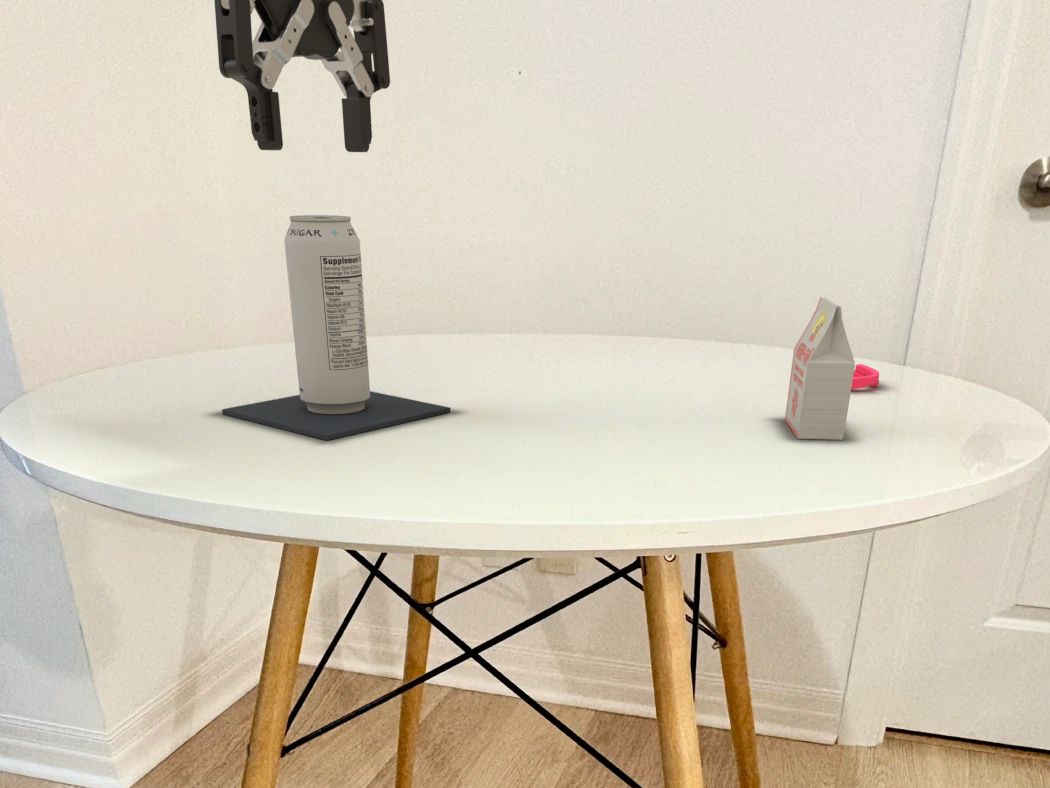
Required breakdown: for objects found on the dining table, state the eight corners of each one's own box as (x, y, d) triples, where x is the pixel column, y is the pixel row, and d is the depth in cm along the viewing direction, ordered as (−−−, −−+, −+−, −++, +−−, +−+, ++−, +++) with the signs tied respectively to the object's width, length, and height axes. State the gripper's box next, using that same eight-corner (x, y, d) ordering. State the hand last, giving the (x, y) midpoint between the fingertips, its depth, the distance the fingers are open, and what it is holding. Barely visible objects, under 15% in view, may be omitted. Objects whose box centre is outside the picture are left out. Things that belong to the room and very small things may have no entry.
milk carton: (827, 421, 87) (846, 297, 82) (843, 439, 81) (864, 307, 77) (784, 419, 88) (800, 296, 83) (797, 438, 82) (815, 306, 77)
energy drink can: (338, 398, 91) (323, 214, 84) (385, 407, 88) (373, 217, 81) (286, 408, 87) (265, 216, 80) (333, 419, 84) (316, 219, 77)
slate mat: (326, 440, 79) (326, 435, 79) (222, 413, 87) (221, 409, 87) (450, 412, 89) (450, 407, 88) (346, 390, 96) (345, 386, 96)
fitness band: (888, 390, 100) (891, 374, 99) (833, 392, 99) (836, 375, 98) (852, 375, 106) (854, 360, 106) (800, 376, 106) (802, 361, 105)
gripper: (338, -89, 77) (353, 152, 85) (174, -129, 67) (208, 148, 75) (405, -102, 73) (415, 153, 81) (241, -146, 63) (270, 149, 71)
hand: (315, 151), depth 78 cm, fingers open, 8 cm apart
